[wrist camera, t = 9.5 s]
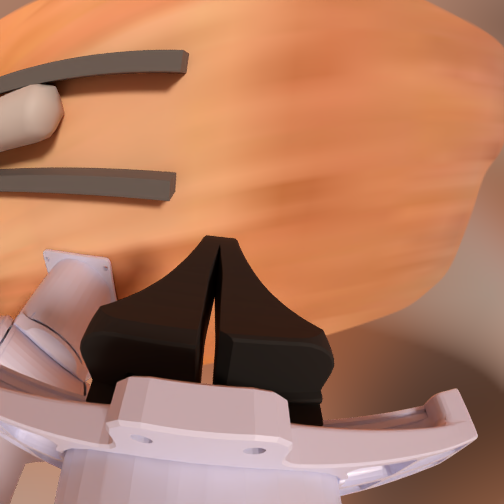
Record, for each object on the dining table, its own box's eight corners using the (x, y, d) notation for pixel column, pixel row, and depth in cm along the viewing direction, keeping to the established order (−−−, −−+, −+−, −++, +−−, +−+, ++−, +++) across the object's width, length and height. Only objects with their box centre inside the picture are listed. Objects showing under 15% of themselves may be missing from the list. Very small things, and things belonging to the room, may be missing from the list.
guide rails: (175, 191, 21) (169, 200, 19) (-27, 184, 19) (-38, 191, 17) (189, 53, 16) (183, 50, 14) (-32, 91, 13) (-44, 94, 12)
